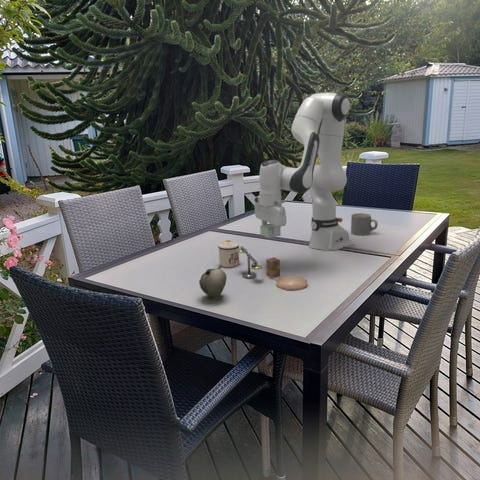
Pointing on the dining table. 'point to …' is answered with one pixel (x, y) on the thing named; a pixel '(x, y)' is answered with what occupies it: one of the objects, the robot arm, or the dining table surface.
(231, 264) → the teacup with lid
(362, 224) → the coffee mug
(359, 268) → the dining table surface
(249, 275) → the balance
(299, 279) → the saucer
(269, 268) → the block
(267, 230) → the cover
